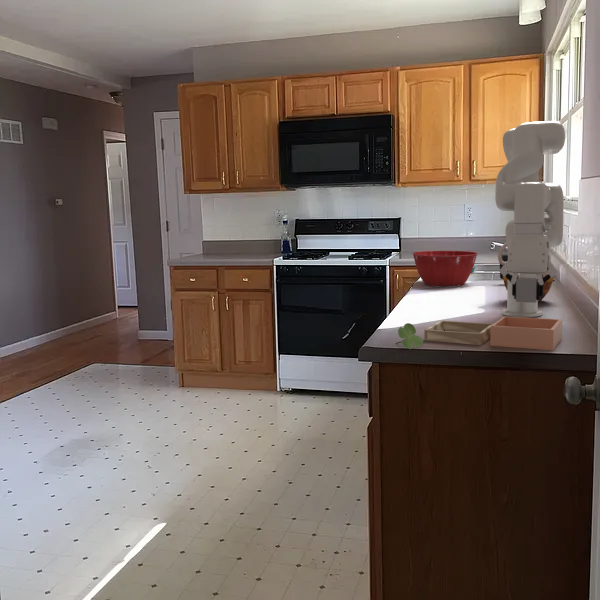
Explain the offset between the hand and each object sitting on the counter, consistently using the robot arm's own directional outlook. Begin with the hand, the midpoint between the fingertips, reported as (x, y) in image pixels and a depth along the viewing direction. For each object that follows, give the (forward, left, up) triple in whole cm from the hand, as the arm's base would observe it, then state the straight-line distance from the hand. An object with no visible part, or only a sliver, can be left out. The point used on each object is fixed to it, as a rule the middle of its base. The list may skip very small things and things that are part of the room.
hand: (527, 298), depth 174 cm
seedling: (+15, -31, -12) cm, 37 cm away
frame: (0, -18, -12) cm, 22 cm away
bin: (0, 0, -12) cm, 12 cm away
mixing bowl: (-105, -54, -12) cm, 119 cm away
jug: (-69, -13, -12) cm, 71 cm away
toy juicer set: (-154, -62, -13) cm, 166 cm away
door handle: (-115, -22, -12) cm, 117 cm away
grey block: (0, 0, -1) cm, 1 cm away
